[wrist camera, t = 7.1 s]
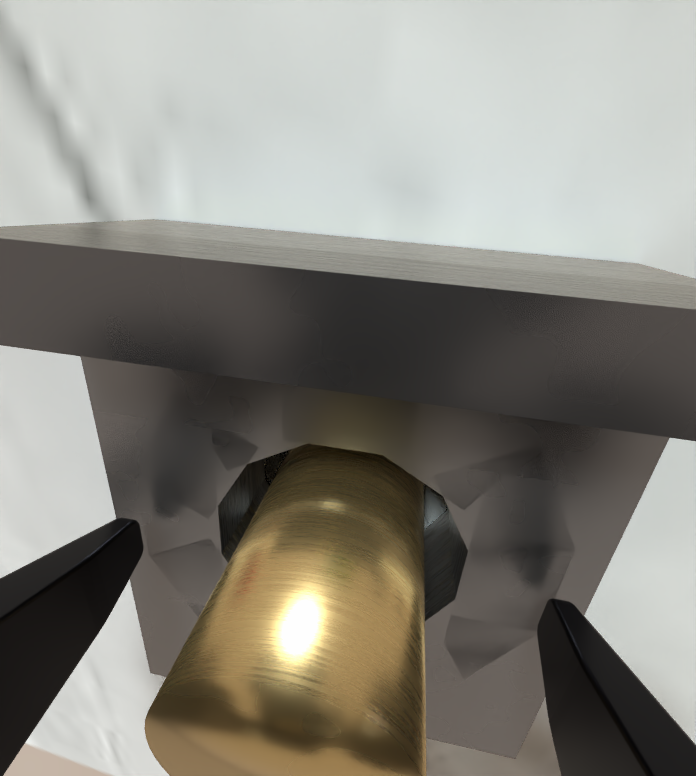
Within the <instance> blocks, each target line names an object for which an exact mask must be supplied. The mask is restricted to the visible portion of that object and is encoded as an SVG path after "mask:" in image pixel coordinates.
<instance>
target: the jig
mask: <svg viewBox="0 0 696 776" xmlns="http://www.w3.org/2000/svg"><path fill="white" fill-rule="evenodd" d="M0 345H3V346H11V347H18V348H25V349H32V350H40V351H47V352H54V353H61V354H69V355H76V356H81V360H82V365H83V369H84V374H85V378H86V383H87V388H88V392H89V397H90V401H91V406H92V410H93V415H94V419H95V424H96V428H97V433H98V437H99V442H100V446H101V451H102V455H103V460H104V465H105V469H106V474H107V478H108V483H109V487H110V492H111V496H112V501H113V505H114V510H115V514H116V519H118V518H128V519H133V520H136V521H138V523H139V524H140V529H141V534H142V540H143V545H144V548H143V554H142V556H141V558H140V560H139V562H138V564H137V566H136V568H135V569H134V571H133V573H132V575H131V577H130V582H131V587H132V591H133V596H134V600H135V605H136V609H137V614H138V618H139V623H140V627H141V632H142V637H143V641H144V646H145V650H146V655H147V659H148V664H149V668H150V673H153V674H157V675H161V676H166V677H167V675H168V674H169V672H170V670H171V668H172V666H173V664H174V662H175V661H176V659H177V657H178V655H179V653H180V651H181V650H182V648H183V646H184V644H185V642H186V640H187V638H188V637H189V635H190V633H191V631H192V629H193V627H194V625H195V624H196V622H197V620H198V618H199V616H200V614H201V612H202V611H203V609H204V607H205V605H206V603H207V601H208V600H209V598H210V596H211V594H212V592H213V590H214V588H215V587H216V585H217V583H218V581H219V579H220V577H221V575H222V574H223V572H224V570H225V568H226V566H227V564H228V562H229V561H230V559H231V557H232V555H233V553H234V551H235V550H236V548H237V546H238V544H239V542H240V540H241V538H242V537H243V535H244V533H245V531H246V529H247V527H248V525H249V524H250V522H251V520H252V518H253V516H254V514H255V512H256V511H257V509H258V507H259V505H260V503H261V501H262V500H263V498H264V496H265V494H266V492H267V490H268V488H269V485H268V484H267V482H266V480H265V469H264V458H267V457H270V456H273V455H276V454H278V453H281V452H284V451H287V450H290V449H293V448H296V447H299V446H302V445H305V444H315V445H321V446H328V447H334V448H341V449H347V450H354V451H360V452H367V453H373V454H379V455H383V456H385V457H386V458H388V459H389V460H391V461H392V462H393V463H395V464H396V465H398V466H399V467H401V468H402V469H404V470H405V471H407V472H408V473H410V474H411V475H413V476H414V477H415V478H417V479H418V480H420V481H421V482H423V483H424V484H426V485H427V486H429V487H430V488H432V489H433V490H434V491H436V492H437V493H439V494H440V495H442V496H443V497H444V500H445V502H446V504H447V506H448V509H447V511H445V512H444V513H443V514H442V515H441V516H440V517H439V518H438V519H436V520H435V521H434V522H433V523H432V524H431V525H430V526H429V527H427V528H426V529H425V530H424V587H425V696H426V738H429V739H433V740H437V741H442V742H446V743H450V744H454V745H459V746H463V747H467V748H471V749H476V750H480V751H484V752H488V753H493V754H497V755H501V756H505V757H510V758H514V759H515V758H516V756H517V754H518V752H519V750H520V748H521V746H522V744H523V742H524V739H525V737H526V735H527V733H528V731H529V729H530V727H531V725H532V723H533V721H534V719H535V717H536V714H537V712H538V710H539V708H540V706H541V704H542V702H543V700H544V698H545V689H544V682H543V675H542V667H541V660H540V653H539V645H538V638H537V627H538V623H539V620H540V618H541V615H542V613H543V610H544V608H545V606H546V603H547V601H548V600H549V599H551V598H554V599H560V600H565V601H569V602H571V603H573V604H574V605H575V606H576V607H577V608H578V609H579V611H580V612H581V613H582V614H583V615H585V612H586V610H587V608H588V606H589V604H590V602H591V600H592V598H593V596H594V594H595V592H596V590H597V588H598V585H599V583H600V581H601V579H602V577H603V575H604V573H605V571H606V569H607V567H608V565H609V563H610V560H611V558H612V556H613V554H614V552H615V550H616V548H617V546H618V544H619V542H620V540H621V538H622V535H623V533H624V531H625V529H626V527H627V525H628V523H629V521H630V519H631V517H632V515H633V513H634V510H635V508H636V506H637V504H638V502H639V500H640V498H641V496H642V494H643V492H644V490H645V488H646V485H647V483H648V481H649V479H650V477H651V475H652V473H653V471H654V469H655V467H656V465H657V463H658V461H659V458H660V456H661V454H662V452H663V450H664V448H665V446H666V444H667V442H668V440H669V438H677V439H684V440H692V441H696V279H694V278H690V277H687V276H683V275H679V274H675V273H672V272H668V271H664V270H660V269H656V268H653V267H649V266H645V265H641V264H636V263H625V262H614V261H603V260H592V259H581V258H570V257H559V256H548V255H537V254H527V253H516V252H505V251H494V250H483V249H472V248H461V247H450V246H439V245H428V244H417V243H406V242H395V241H384V240H374V239H363V238H352V237H341V236H330V235H319V234H308V233H297V232H286V231H275V230H264V229H253V228H242V227H232V226H221V225H210V224H199V223H188V222H177V221H166V220H155V219H151V220H130V221H110V222H90V223H69V224H49V225H28V226H8V227H0Z"/></svg>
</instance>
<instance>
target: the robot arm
mask: <svg viewBox="0 0 696 776" xmlns="http://www.w3.org/2000/svg"><path fill="white" fill-rule="evenodd" d="M143 548H144V545H143V540H142V534H141V529H140V524H139V523H138V521H136V520H133V519H128V518H118V519H115V520H113V521H111V522H109V523H108V524H106V525H104V526H102V527H100V528H98V529H96V530H94V531H92V532H90V533H88V534H86V535H84V536H82V537H80V538H78V539H76V540H74V541H72V542H71V543H69V544H67V545H65V546H63V547H61V548H59V549H57V550H55V551H53V552H51V553H49V554H47V555H45V556H43V557H41V558H39V559H37V560H35V561H34V562H32V563H30V564H28V565H26V566H24V567H22V568H20V569H18V570H16V571H14V572H12V573H10V574H8V575H6V576H4V577H2V578H0V776H3V775H4V773H5V772H6V770H7V769H8V767H9V766H10V764H11V763H12V761H13V760H14V758H15V757H16V755H17V754H18V752H19V751H20V749H21V748H22V746H23V745H24V744H25V742H26V741H27V739H28V738H29V736H30V735H31V733H32V732H33V730H34V729H35V727H36V726H37V724H38V723H39V721H40V720H41V718H42V717H43V715H44V714H45V712H46V711H47V709H48V708H49V706H50V705H51V703H52V702H53V700H54V699H55V697H56V696H57V694H58V693H59V691H60V690H61V688H62V687H63V685H64V684H65V682H66V681H67V679H68V678H69V676H70V675H71V673H72V672H73V670H74V669H75V667H76V666H77V664H78V663H79V661H80V660H81V658H82V657H83V655H84V654H85V652H86V651H87V649H88V648H89V646H90V645H91V643H92V642H93V640H94V639H95V637H96V636H97V634H98V633H99V631H100V630H101V628H102V627H103V625H104V624H105V622H106V620H107V618H108V617H109V615H110V613H111V612H112V610H113V608H114V606H115V604H116V602H117V601H118V599H119V597H120V595H121V593H122V591H123V590H124V588H125V586H126V584H127V582H128V580H129V579H130V577H131V575H132V573H133V571H134V569H135V568H136V566H137V564H138V562H139V560H140V558H141V556H142V554H143ZM537 638H538V645H539V653H540V660H541V667H542V675H543V682H544V689H545V697H546V704H547V711H548V717H549V723H550V728H551V732H552V737H553V741H554V746H555V750H556V754H557V758H558V763H559V767H560V771H561V775H562V776H696V745H695V743H694V742H693V741H692V740H691V739H690V738H689V737H688V735H687V734H686V733H685V732H684V731H683V730H682V728H681V727H680V726H679V725H678V724H677V723H676V721H675V720H674V719H673V718H672V717H671V716H670V715H669V713H668V712H667V711H666V710H665V709H664V708H663V706H662V705H661V704H660V703H659V702H658V701H657V700H656V698H655V697H654V696H653V695H652V694H651V693H650V691H649V690H648V689H647V688H646V687H645V686H644V685H643V683H642V682H641V681H640V680H639V679H638V678H637V676H636V675H635V674H634V673H633V672H632V671H631V670H630V668H629V667H628V666H627V665H626V664H625V663H624V661H623V660H622V659H621V658H620V657H619V656H618V655H617V653H616V652H615V651H614V650H613V649H612V648H611V646H610V645H609V644H608V643H607V642H606V641H605V639H604V638H603V637H602V636H601V635H600V634H599V633H598V631H597V630H596V629H595V628H594V627H593V626H592V624H591V623H590V622H589V621H588V620H587V619H586V618H585V616H584V615H583V614H582V613H581V612H580V611H579V609H578V608H577V607H576V606H575V605H574V604H573V603H571V602H569V601H565V600H560V599H554V598H551V599H549V600H548V601H547V603H546V606H545V608H544V610H543V613H542V615H541V618H540V620H539V623H538V627H537Z"/></svg>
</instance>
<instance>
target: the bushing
mask: <svg viewBox="0 0 696 776" xmlns="http://www.w3.org/2000/svg"><path fill="white" fill-rule="evenodd" d="M145 734H146V739H147V742H148V745H149V747H150V749H151V751H152V753H153V755H154V756H155V758H156V759H157V761H158V762H159V763H160V765H161V766H162V767H163V769H164V770H165V771H166V772H167V773H168V774H169V775H170V776H426V696H425V587H424V483H423V482H421V481H420V480H418V479H417V478H415V477H414V476H413V475H411V474H410V473H408V472H407V471H405V470H404V469H402V468H401V467H399V466H398V465H396V464H395V463H393V462H392V461H391V460H389V459H388V458H386V457H385V456H383V455H379V454H373V453H367V452H360V451H354V450H347V449H341V448H334V447H328V446H321V445H315V444H305V445H302V446H299V447H296V448H293V449H290V450H289V451H288V453H287V455H286V457H285V459H284V461H283V462H282V464H281V466H280V468H279V470H278V472H277V474H276V475H275V477H274V479H273V481H272V483H271V485H270V487H269V488H268V490H267V492H266V494H265V496H264V498H263V500H262V501H261V503H260V505H259V507H258V509H257V511H256V512H255V514H254V516H253V518H252V520H251V522H250V524H249V525H248V527H247V529H246V531H245V533H244V535H243V537H242V538H241V540H240V542H239V544H238V546H237V548H236V550H235V551H234V553H233V555H232V557H231V559H230V561H229V562H228V564H227V566H226V568H225V570H224V572H223V574H222V575H221V577H220V579H219V581H218V583H217V585H216V587H215V588H214V590H213V592H212V594H211V596H210V598H209V600H208V601H207V603H206V605H205V607H204V609H203V611H202V612H201V614H200V616H199V618H198V620H197V622H196V624H195V625H194V627H193V629H192V631H191V633H190V635H189V637H188V638H187V640H186V642H185V644H184V646H183V648H182V650H181V651H180V653H179V655H178V657H177V659H176V661H175V662H174V664H173V666H172V668H171V670H170V672H169V674H168V675H167V677H166V679H165V681H164V683H163V685H162V687H161V688H160V690H159V692H158V694H157V696H156V698H155V699H154V701H153V703H152V705H151V707H150V709H149V711H148V713H147V716H146V719H145Z"/></svg>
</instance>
